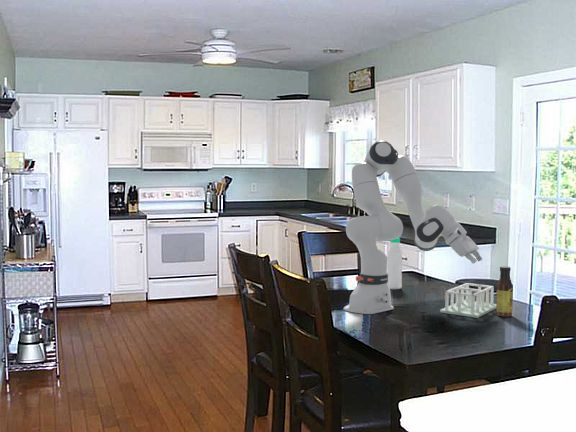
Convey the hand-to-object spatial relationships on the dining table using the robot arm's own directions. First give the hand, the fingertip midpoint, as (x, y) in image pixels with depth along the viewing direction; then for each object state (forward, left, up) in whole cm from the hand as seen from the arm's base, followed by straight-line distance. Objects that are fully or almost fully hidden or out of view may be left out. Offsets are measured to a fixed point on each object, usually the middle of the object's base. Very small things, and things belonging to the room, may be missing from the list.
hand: (478, 261), depth 269 cm
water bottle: (+22, +50, -21) cm, 58 cm away
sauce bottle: (-2, -12, -21) cm, 24 cm away
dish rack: (0, +3, -21) cm, 21 cm away
